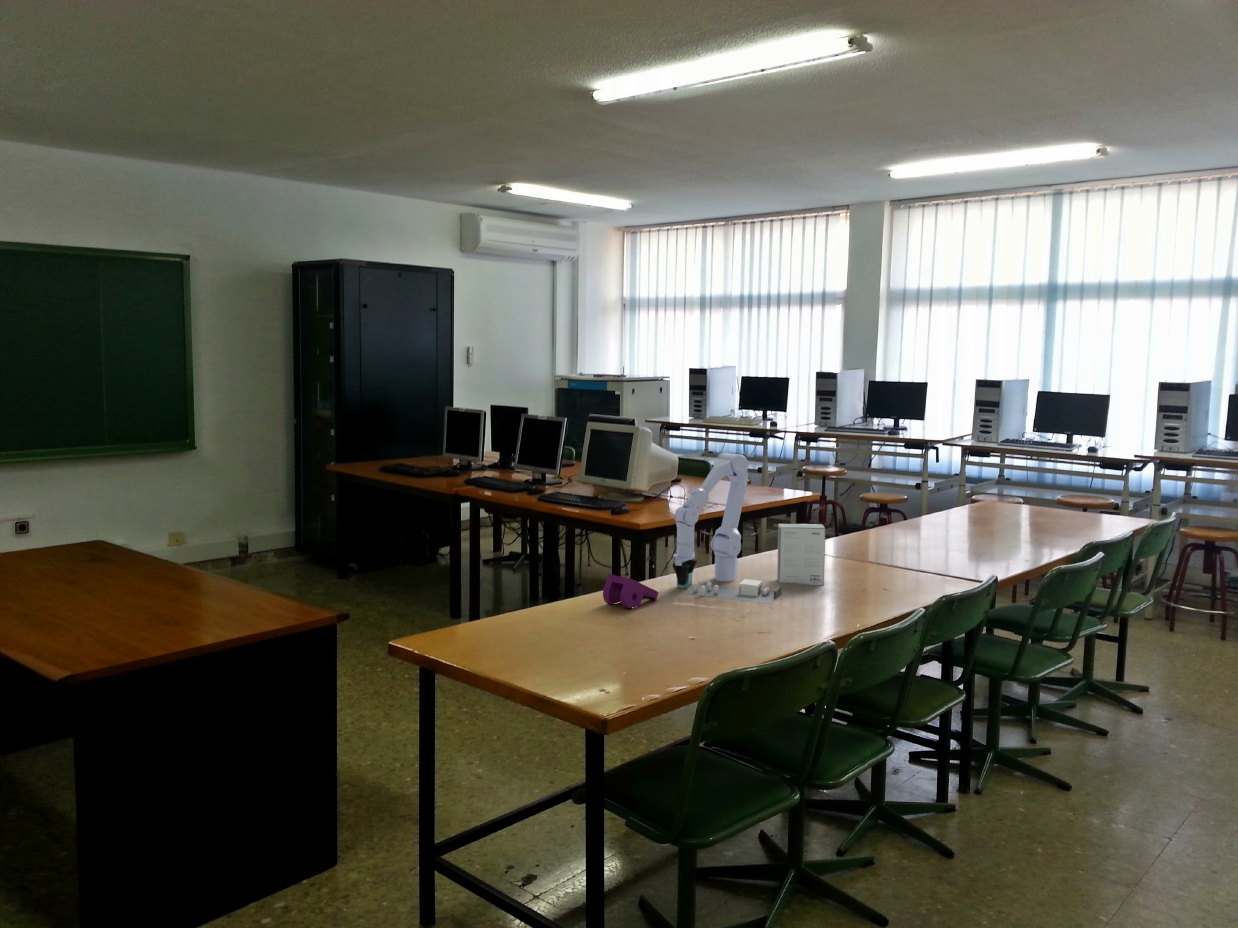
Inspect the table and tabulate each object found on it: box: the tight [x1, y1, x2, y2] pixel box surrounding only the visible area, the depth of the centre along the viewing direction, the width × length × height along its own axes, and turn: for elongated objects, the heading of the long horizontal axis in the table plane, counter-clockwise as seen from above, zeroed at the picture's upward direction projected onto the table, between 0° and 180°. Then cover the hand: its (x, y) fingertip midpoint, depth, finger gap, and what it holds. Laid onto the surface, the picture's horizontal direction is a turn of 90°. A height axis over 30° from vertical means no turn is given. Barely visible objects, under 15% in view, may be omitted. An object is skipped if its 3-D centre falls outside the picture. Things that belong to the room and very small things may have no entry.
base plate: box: [684, 581, 782, 605], centre depth 301 cm, size 15×28×4 cm, turn 68°
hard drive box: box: [776, 523, 826, 586], centre depth 320 cm, size 16×8×20 cm, turn 84°
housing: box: [738, 578, 764, 596], centre depth 302 cm, size 7×6×4 cm
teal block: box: [676, 571, 693, 589], centre depth 312 cm, size 4×4×5 cm
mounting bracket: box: [602, 573, 659, 609], centre depth 291 cm, size 10×8×18 cm
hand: (684, 582), depth 312 cm, fingers open, 6 cm apart
